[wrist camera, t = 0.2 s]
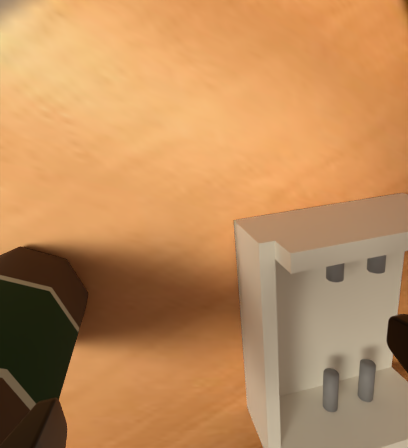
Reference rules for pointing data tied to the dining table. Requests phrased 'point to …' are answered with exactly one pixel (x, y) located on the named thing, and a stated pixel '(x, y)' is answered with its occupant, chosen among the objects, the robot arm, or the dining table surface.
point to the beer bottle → (35, 330)
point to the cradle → (323, 323)
